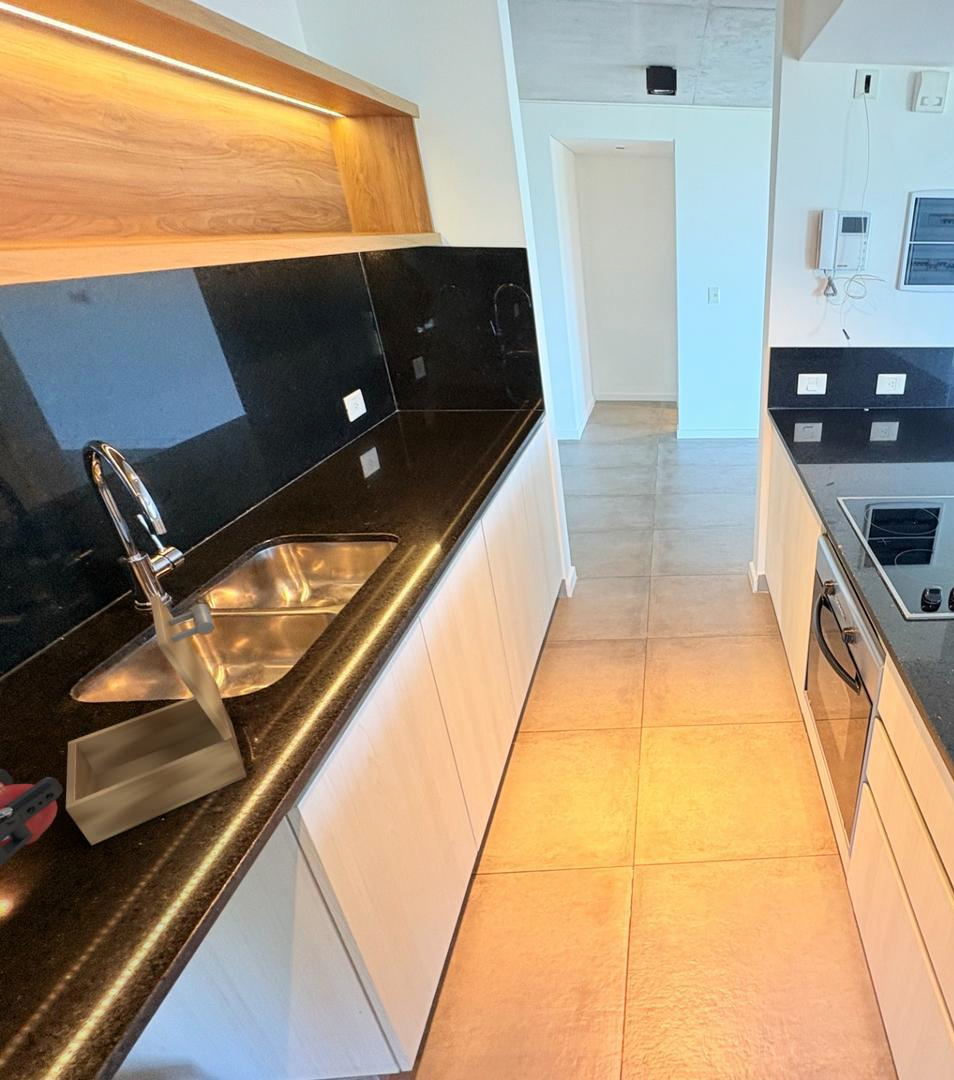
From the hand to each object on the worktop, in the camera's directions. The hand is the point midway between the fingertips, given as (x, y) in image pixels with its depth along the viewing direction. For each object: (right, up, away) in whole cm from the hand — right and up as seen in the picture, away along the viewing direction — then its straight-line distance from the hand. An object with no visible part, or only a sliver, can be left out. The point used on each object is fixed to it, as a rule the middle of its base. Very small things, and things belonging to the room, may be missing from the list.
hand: (30, 779), depth 62 cm
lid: (0, +7, +19) cm, 20 cm away
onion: (0, -7, +1) cm, 7 cm away
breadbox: (-5, -8, +22) cm, 24 cm away
